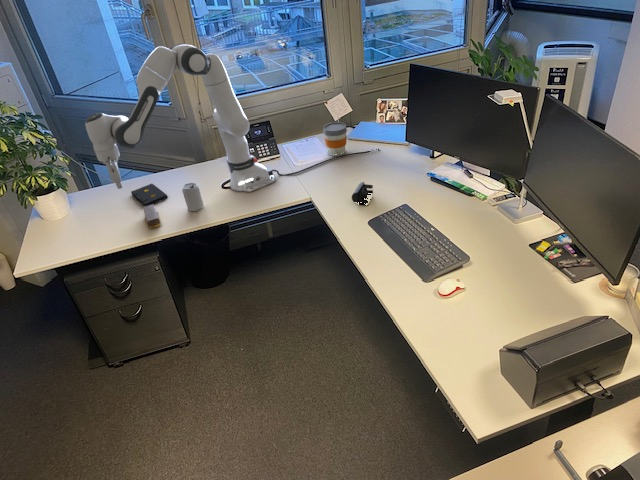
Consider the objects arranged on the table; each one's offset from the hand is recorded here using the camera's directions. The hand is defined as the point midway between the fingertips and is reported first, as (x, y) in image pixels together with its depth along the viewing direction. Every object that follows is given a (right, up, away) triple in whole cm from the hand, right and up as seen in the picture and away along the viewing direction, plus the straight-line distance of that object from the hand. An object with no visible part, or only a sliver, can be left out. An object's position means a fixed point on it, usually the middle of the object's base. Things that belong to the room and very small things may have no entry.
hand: (119, 183), depth 197 cm
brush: (+9, -15, +15) cm, 23 cm away
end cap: (+105, -6, +13) cm, 106 cm away
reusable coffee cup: (+95, +24, +56) cm, 113 cm away
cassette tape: (0, -2, +35) cm, 35 cm away
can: (+27, -9, +21) cm, 36 cm away
